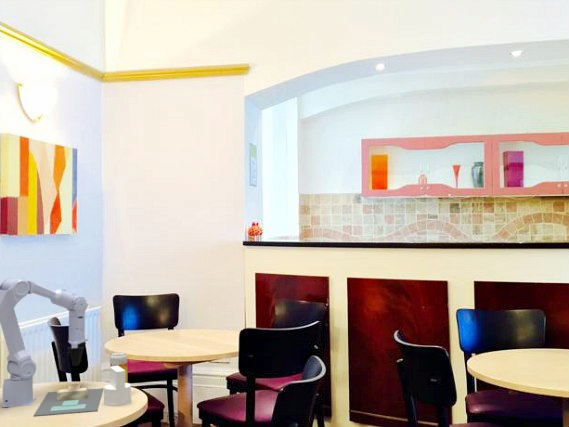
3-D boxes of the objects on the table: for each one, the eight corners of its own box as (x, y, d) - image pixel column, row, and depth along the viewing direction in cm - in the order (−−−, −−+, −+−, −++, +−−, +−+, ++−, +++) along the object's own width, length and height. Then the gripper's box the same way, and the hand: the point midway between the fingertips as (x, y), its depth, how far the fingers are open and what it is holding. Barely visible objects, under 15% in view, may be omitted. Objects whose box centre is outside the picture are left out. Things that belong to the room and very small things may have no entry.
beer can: (130, 392, 214) (129, 352, 215) (123, 397, 208) (123, 355, 209) (114, 392, 215) (114, 351, 215) (107, 396, 209) (107, 355, 209)
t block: (56, 401, 203) (56, 392, 203) (61, 393, 212) (61, 385, 212) (86, 398, 205) (86, 390, 205) (89, 391, 215) (89, 383, 215)
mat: (33, 416, 187) (33, 415, 187) (48, 393, 214) (47, 392, 214) (97, 411, 192) (97, 410, 192) (103, 389, 219) (103, 388, 219)
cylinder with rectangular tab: (134, 404, 199) (133, 369, 200) (108, 408, 195) (107, 373, 195) (126, 398, 207) (126, 364, 207) (101, 402, 202) (101, 368, 203)
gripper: (85, 330, 213) (85, 367, 213) (89, 324, 227) (89, 359, 227) (65, 331, 211) (65, 368, 211) (70, 325, 225) (70, 360, 225)
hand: (76, 363), depth 219 cm, fingers open, 6 cm apart
